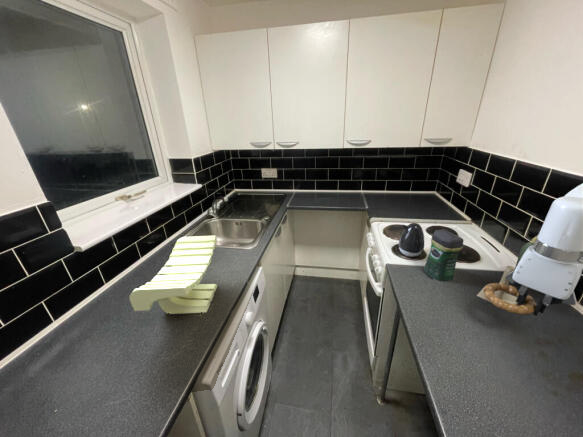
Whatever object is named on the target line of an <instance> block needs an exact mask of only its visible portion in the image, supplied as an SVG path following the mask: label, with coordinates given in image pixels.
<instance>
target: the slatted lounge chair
mask: <svg viewBox="0 0 583 437" xmlns="http://www.w3.org/2000/svg"><path fill="white" fill-rule="evenodd" d="M217 242H218V240H217V235H215V234H214V235H193V236H182V237H179V238H178V239H177V240H176V242H175V244H174V247H173V248H172V252H171V253H170V255H169V258H168V260H167V261H166V262H165V264H163V265H164V266H162V267H161V269H160V270H159V271H158V272H157V273H156V275H155V276H154V277H153V278H152V279H151V280H150V281H147V282H146V283H145V284H144V285H141V286H139V287H138V288H134V289H133V291H132V292H131V293H130V294H129V301H130V304H131V307H132V308H133V311H134V312H144V311H145V312H146V311H151V309H152V308H153V305H154V303H155V302H157V304H158V305H159V307H160V308H161V310H162V311H163V312H164V313H165V314H168V313H169V314H168V315H175V314H176V315H178V314H179V315H180V314H197V313H199V314H201V312H202V313H207V312H208V310H209V308H210V305H211V303H212V301H213V298H214V296H215V293H216V291H217V289H218V285H217V283H201V281H202V279H203V278H204V275H205V274H206V272H207V270H208V267H209V266H210V264H211V262H212V259H213V258H212V257H213V255H214V251H215V249H216V244H217Z"/></svg>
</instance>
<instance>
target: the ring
mask: <svg viewBox="0 0 583 437" xmlns="http://www.w3.org/2000/svg"><path fill="white" fill-rule="evenodd" d="M486 285H487V286H486ZM486 285H485V286H486V287H485V286H484V287H485V288H484V287H483V288H484V289H483V288H482V289H483V291H484V294H485V296H486V298H487V299H488V300H489V301H490V302H489V301H488V302H489V303H491V302H492V303H491V304H493V305H494V306H495V307H497V308H499V309H501V310H504V311H505V312H507V313H512V314H516V315H522V316H523V315H530V314H533V313H534V311H535V309H536V307H537V305H538V303H537V302H536V301H535V299H534V298H533V296H531V295H530V294H528V295H527V298H526V300H525V302H524V304H523V305H518V304H516V305H515V304H510V303H508V302H506V301H503V300H501V299H500V298H498V297H497V296H496V295H495V294H494V291H503V292H506V293H508V294H510V295H513V296H515V297H518V295H519V294H518V291H517V289H516V288H515V287H514V285H511V284H508V285H507V284H501V283H500V282H494V283H488V284H486Z"/></svg>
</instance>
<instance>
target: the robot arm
mask: <svg viewBox="0 0 583 437" xmlns="http://www.w3.org/2000/svg"><path fill="white" fill-rule="evenodd" d="M537 235H538V237H537V239H536V241H535V244H534V245H532V246H529V248H528V249H527V250H526V251H525V253H524V254H523V256H522V258H521V259H520V261H519V263H518V265H517V267H516V266H515V267H516V269H515V270H514V271H512V272H511V273H509V274H507V275H506V276H505V278H506V279H507V280H508V281H509V283H510V284H512V286H513V287H515V288H516V289H517V291H518V294H519V295H518V297H517V296H516V297H517V299H516V302H517V305H524V304H525V303H524V302H525V300H526V298H527V295H529V291H528V289H532V290H534V291H536V292H539V293H542V294H544V297H540V300H539V301H538V303H537V307H536V309H535V311H534V313H532V314H533V315H534V316H535V317H537V316H538V315H539V313H540V314H542V315H543V314H544V312H545V310H546V308H547V306H550V305H560V304H563V305H570V306H576V305H577V298H576V294H575V289H576V287H577V285H578V283H579V281H580V279H581V276H582V273H583V183H581V184H579V185H577V186H576V187H574V188H573V189H571V190H570V191H568V192H567V193H566V194H565V195H564V196H561V197H558V198H555V200H553V201H552V203H551V205H550V207H549V210H548V212H547V214H546V216H545V219H544V222H543V223H542V225H541V228H540V230H539V232H538V234H537Z"/></svg>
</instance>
